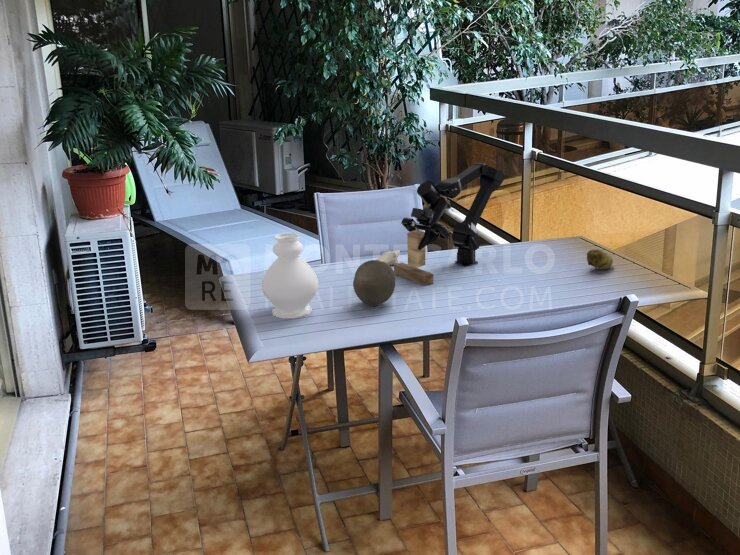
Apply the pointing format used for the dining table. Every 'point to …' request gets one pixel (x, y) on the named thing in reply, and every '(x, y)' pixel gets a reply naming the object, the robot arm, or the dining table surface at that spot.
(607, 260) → the olive green oval lump
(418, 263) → the oak post
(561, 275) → the dining table surface
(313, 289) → the decorative vase
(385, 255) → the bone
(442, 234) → the robot arm
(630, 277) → the dining table surface
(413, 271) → the brown wooden bar
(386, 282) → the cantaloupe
